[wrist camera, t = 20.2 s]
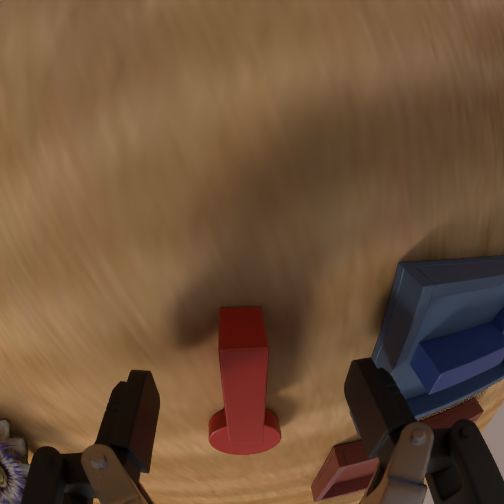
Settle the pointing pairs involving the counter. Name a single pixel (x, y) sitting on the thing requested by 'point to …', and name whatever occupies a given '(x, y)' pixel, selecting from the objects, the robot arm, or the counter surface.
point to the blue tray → (438, 322)
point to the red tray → (361, 467)
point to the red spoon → (243, 385)
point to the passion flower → (12, 464)
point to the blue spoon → (459, 355)
